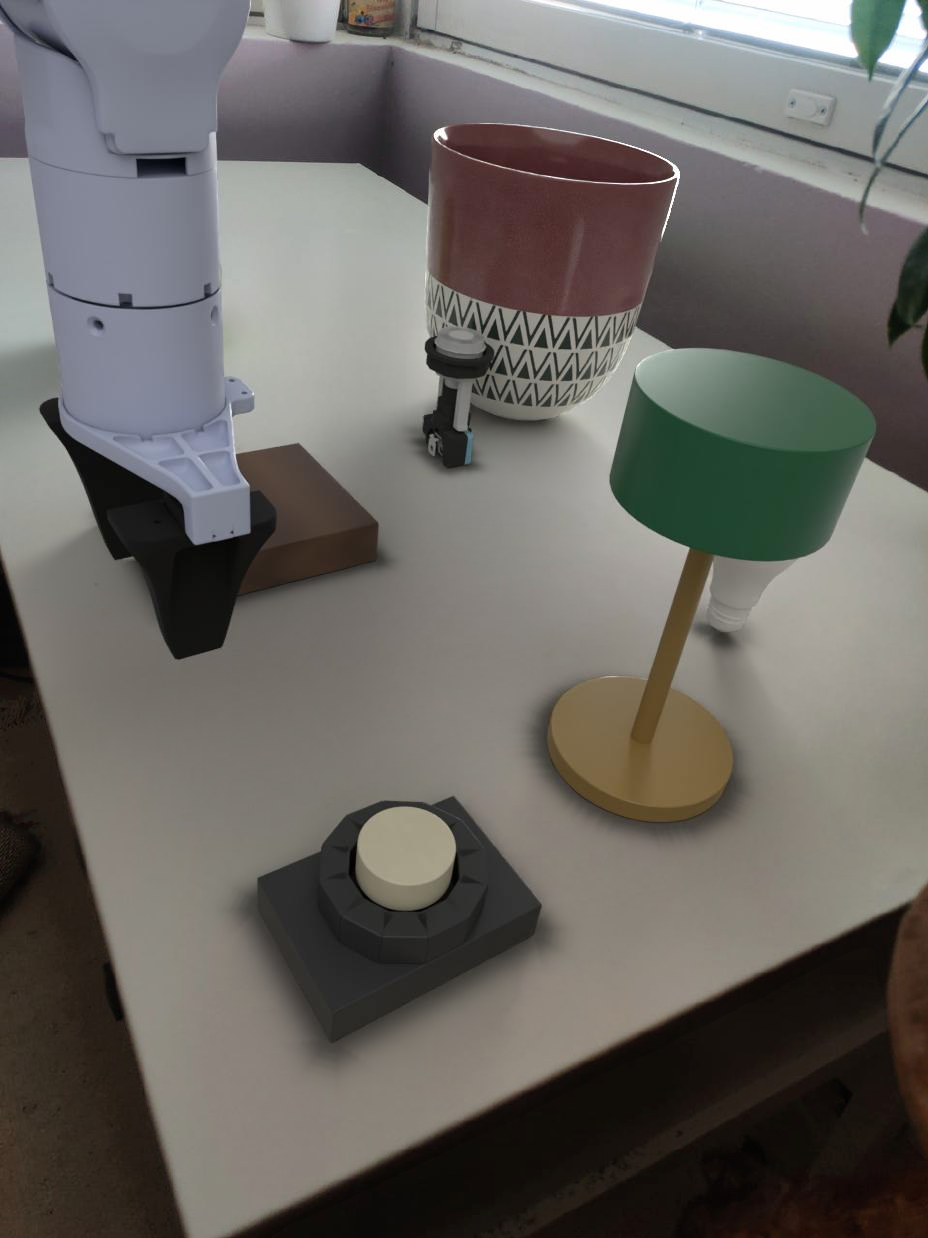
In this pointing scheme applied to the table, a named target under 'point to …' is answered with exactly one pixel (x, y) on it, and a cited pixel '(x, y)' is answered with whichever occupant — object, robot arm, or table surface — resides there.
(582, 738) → the desk lamp
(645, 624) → the table surface
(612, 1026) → the table surface
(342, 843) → the switch block
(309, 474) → the dimmer panel
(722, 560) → the lightbulb
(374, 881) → the button
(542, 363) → the planter
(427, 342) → the push button
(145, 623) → the table surface
